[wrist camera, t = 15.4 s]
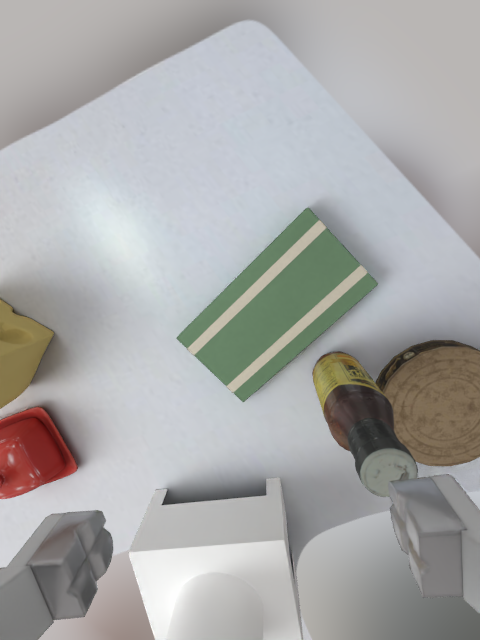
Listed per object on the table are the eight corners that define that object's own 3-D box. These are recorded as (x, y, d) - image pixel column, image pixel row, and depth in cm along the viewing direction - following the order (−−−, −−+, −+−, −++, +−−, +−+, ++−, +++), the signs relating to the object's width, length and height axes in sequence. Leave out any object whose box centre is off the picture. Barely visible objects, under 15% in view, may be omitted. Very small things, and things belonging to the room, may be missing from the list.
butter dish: (47, 399, 46) (0, 433, 37) (85, 465, 48) (49, 511, 40) (-17, 424, 47) (-76, 462, 39) (22, 487, 50) (-26, 535, 41)
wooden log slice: (376, 457, 44) (384, 472, 41) (366, 349, 41) (374, 357, 38) (499, 444, 43) (516, 459, 40) (500, 330, 39) (519, 337, 36)
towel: (305, 208, 37) (308, 206, 35) (372, 282, 39) (378, 284, 37) (180, 333, 42) (175, 338, 40) (244, 395, 43) (243, 402, 41)
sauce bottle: (369, 374, 42) (461, 487, 22) (330, 402, 43) (385, 531, 24) (337, 337, 41) (405, 421, 21) (299, 366, 42) (330, 471, 23)
